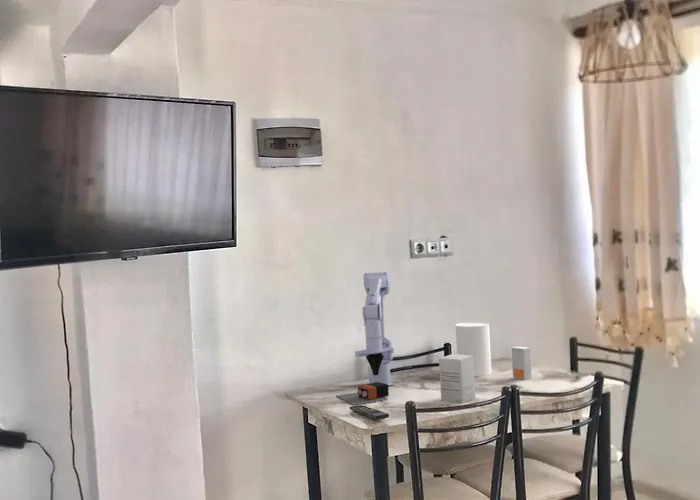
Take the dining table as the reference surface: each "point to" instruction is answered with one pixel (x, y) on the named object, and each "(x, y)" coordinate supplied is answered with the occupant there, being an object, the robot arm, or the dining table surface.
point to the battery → (373, 391)
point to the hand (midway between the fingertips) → (375, 374)
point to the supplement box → (457, 378)
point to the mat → (357, 399)
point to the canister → (475, 345)
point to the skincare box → (521, 362)
